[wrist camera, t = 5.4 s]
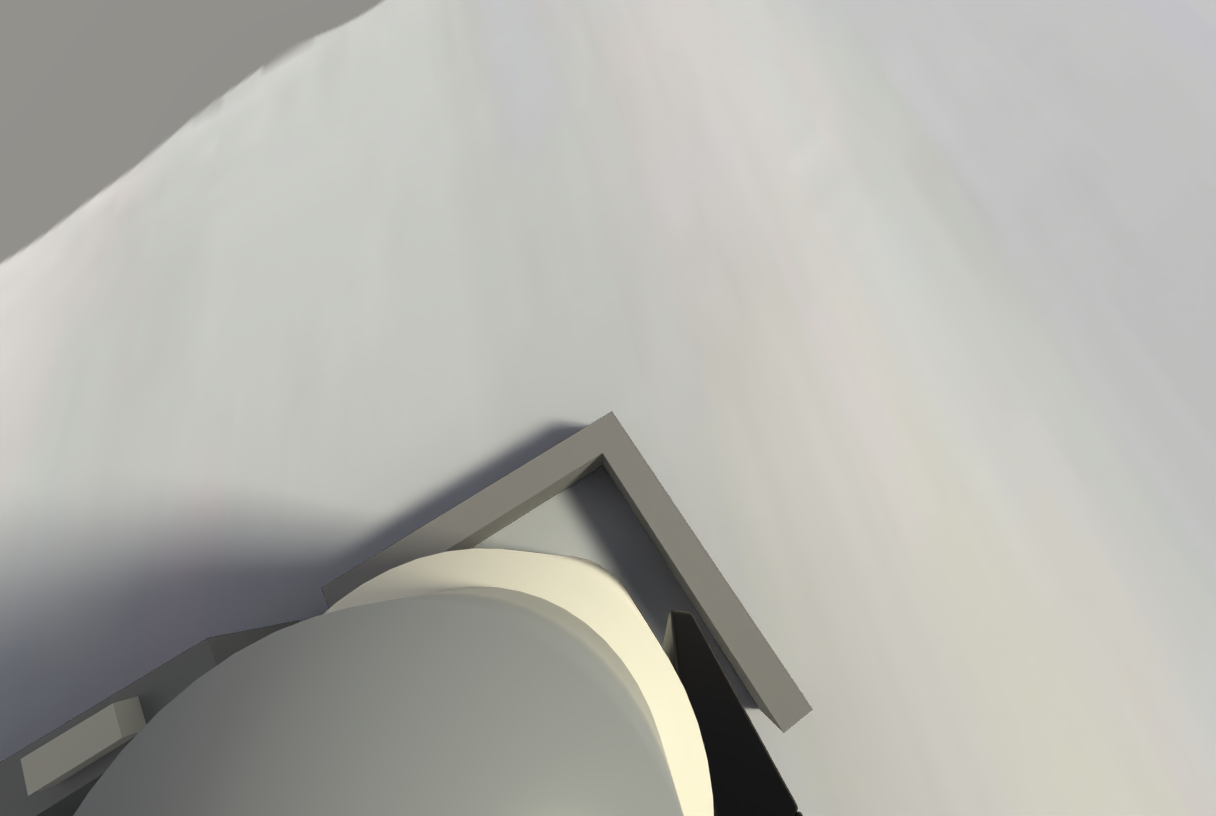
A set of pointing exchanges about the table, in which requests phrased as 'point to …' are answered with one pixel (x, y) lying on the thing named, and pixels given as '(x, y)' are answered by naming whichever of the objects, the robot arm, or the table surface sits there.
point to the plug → (432, 707)
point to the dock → (105, 732)
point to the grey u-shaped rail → (656, 516)
